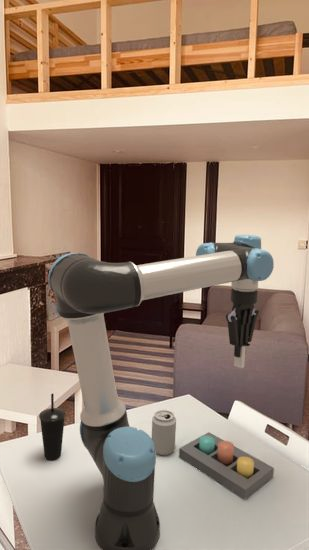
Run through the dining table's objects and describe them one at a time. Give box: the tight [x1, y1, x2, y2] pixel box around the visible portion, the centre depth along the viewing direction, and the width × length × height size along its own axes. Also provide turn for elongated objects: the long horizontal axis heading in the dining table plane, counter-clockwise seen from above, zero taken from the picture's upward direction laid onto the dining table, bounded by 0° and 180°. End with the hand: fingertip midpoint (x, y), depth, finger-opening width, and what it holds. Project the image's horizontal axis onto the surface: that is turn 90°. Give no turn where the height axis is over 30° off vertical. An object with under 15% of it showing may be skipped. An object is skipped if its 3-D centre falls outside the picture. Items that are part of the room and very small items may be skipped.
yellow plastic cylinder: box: [236, 456, 254, 479], centre depth 114 cm, size 5×5×5 cm
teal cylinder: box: [199, 434, 215, 455], centre depth 124 cm, size 5×5×5 cm
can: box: [151, 409, 177, 456], centre depth 126 cm, size 8×8×12 cm
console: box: [178, 431, 275, 501], centre depth 119 cm, size 14×24×3 cm, turn 43°
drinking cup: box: [38, 393, 67, 462], centre depth 120 cm, size 8×8×20 cm
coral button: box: [217, 440, 235, 466], centre depth 119 cm, size 5×5×5 cm
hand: (239, 366), depth 120 cm, fingers closed
